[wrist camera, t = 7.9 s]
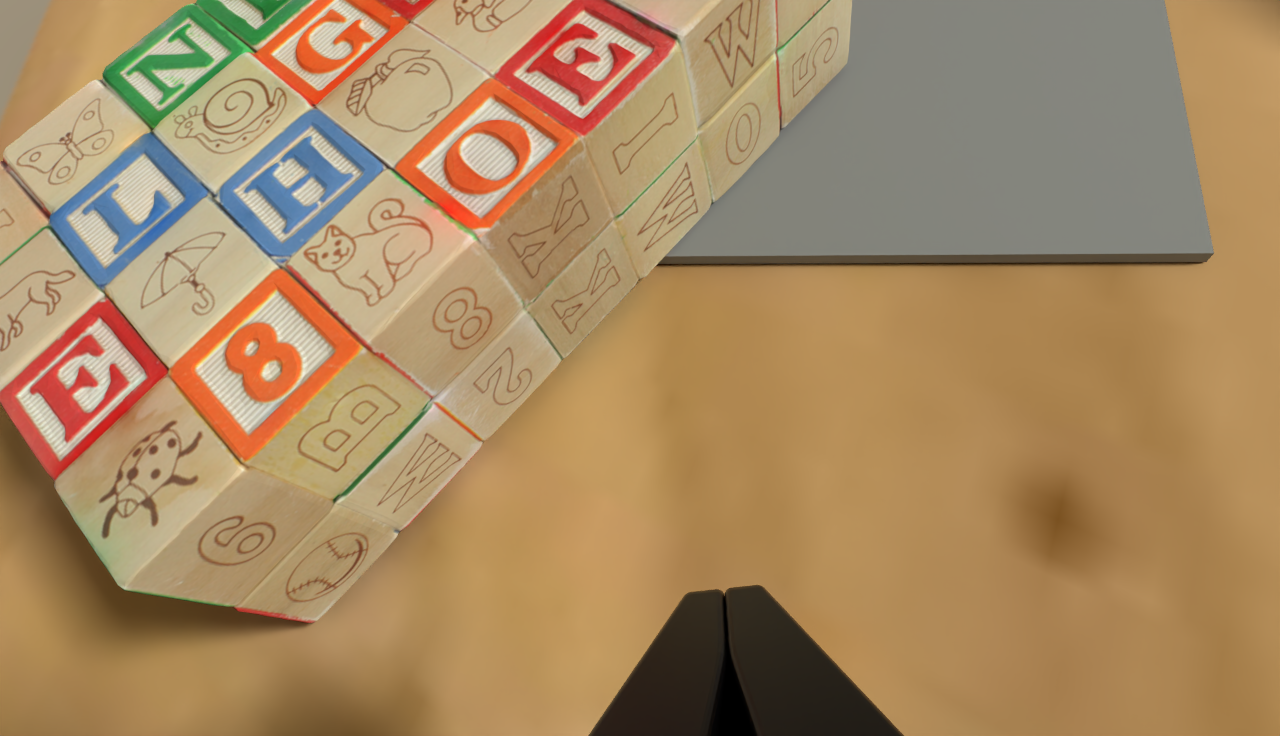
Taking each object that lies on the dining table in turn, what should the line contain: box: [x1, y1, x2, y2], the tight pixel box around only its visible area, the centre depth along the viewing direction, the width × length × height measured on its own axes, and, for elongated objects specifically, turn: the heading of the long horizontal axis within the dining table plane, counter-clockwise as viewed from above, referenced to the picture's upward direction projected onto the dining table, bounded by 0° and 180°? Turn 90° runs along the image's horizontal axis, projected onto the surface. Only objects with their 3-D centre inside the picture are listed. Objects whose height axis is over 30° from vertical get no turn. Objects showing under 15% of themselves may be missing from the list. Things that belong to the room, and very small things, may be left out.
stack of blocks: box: [0, 0, 852, 623], centre depth 21 cm, size 21×6×12 cm
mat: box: [658, 0, 1214, 264], centre depth 24 cm, size 13×24×1 cm, turn 83°
